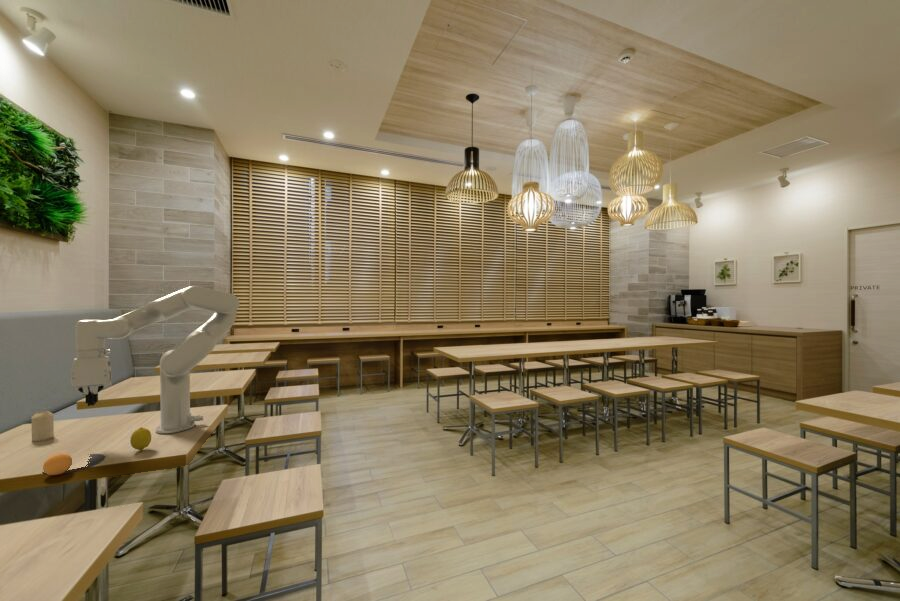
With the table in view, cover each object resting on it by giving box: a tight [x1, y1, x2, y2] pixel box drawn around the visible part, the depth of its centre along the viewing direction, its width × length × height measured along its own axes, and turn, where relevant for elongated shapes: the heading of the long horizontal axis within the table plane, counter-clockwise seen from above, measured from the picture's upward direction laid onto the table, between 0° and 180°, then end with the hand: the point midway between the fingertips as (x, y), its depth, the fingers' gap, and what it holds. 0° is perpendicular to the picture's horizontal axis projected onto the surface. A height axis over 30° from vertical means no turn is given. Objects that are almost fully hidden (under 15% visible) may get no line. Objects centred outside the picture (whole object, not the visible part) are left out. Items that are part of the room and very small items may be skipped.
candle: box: [30, 410, 55, 442], centre depth 138 cm, size 6×6×10 cm
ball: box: [42, 452, 72, 476], centre depth 111 cm, size 6×6×6 cm
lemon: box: [129, 426, 152, 452], centre depth 128 cm, size 6×6×8 cm
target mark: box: [44, 453, 106, 476], centre depth 118 cm, size 14×14×1 cm
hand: (91, 404), depth 133 cm, fingers closed
